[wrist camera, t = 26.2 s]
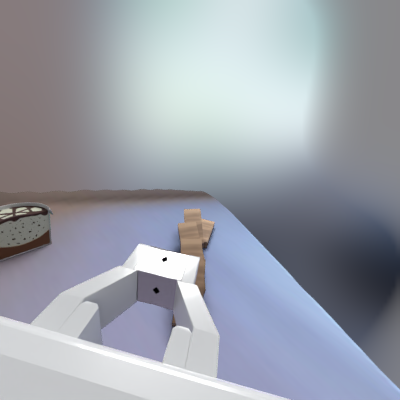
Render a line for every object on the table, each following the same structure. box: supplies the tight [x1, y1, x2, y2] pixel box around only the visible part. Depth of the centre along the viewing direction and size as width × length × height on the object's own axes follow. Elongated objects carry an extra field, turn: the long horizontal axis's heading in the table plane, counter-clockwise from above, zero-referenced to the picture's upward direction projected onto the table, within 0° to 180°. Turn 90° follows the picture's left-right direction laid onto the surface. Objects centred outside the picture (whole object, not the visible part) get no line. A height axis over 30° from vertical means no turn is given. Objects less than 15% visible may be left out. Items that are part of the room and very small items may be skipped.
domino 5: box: [201, 219, 215, 248], centre depth 61 cm, size 2×5×12 cm
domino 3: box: [180, 239, 205, 294], centre depth 44 cm, size 2×5×12 cm
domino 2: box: [178, 221, 205, 260], centre depth 50 cm, size 2×5×12 cm
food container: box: [0, 203, 53, 261], centre depth 44 cm, size 12×6×10 cm, turn 141°
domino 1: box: [184, 209, 204, 248], centre depth 56 cm, size 2×5×12 cm
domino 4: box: [172, 259, 205, 326], centre depth 38 cm, size 2×5×12 cm
